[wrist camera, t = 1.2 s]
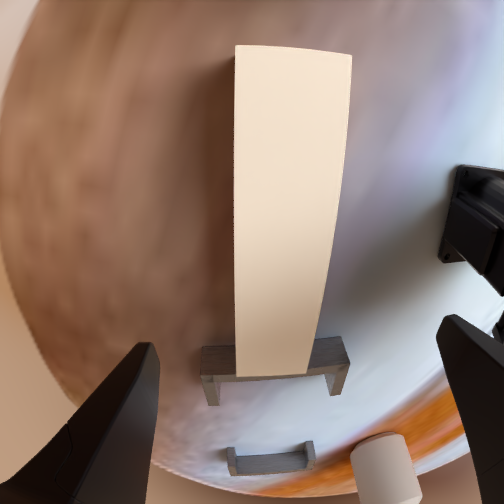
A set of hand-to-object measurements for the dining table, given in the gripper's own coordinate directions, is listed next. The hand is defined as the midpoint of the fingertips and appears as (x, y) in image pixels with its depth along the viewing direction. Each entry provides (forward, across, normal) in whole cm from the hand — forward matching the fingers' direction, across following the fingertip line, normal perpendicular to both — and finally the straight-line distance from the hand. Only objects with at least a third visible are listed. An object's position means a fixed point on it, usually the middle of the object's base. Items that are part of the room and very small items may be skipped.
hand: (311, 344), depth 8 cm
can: (+9, -14, +32) cm, 36 cm away
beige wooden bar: (+9, 0, 0) cm, 9 cm away
